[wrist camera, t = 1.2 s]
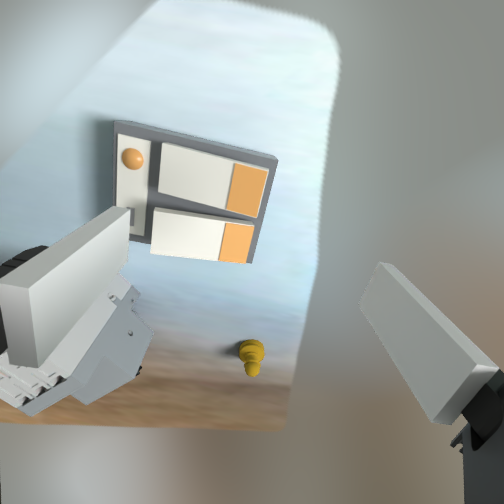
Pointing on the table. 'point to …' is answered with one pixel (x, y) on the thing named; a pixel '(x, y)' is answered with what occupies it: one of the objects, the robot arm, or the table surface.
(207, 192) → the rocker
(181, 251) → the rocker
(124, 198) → the switch unit
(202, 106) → the table surface
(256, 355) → the chess piece
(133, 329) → the circuit breaker
